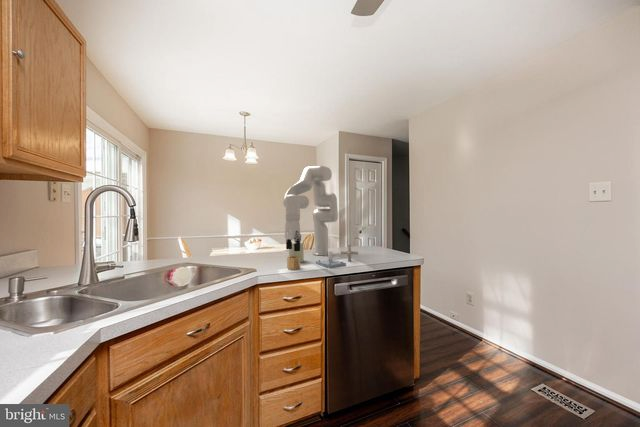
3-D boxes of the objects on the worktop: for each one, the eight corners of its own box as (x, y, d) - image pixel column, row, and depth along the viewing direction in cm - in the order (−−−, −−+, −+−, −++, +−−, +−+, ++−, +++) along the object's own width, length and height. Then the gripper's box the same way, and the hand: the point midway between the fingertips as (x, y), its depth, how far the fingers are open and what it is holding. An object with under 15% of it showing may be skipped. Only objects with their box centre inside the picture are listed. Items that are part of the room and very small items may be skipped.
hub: (285, 267, 147) (285, 256, 147) (296, 266, 150) (296, 255, 150) (290, 270, 142) (290, 258, 142) (301, 268, 145) (301, 257, 145)
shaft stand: (315, 263, 157) (315, 250, 157) (331, 261, 162) (331, 249, 162) (329, 268, 145) (328, 254, 145) (345, 265, 150) (345, 252, 150)
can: (292, 263, 160) (291, 242, 159) (286, 260, 168) (286, 241, 167) (306, 261, 164) (306, 241, 164) (300, 259, 172) (300, 240, 172)
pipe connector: (357, 263, 157) (357, 245, 157) (340, 262, 159) (339, 245, 159) (358, 259, 167) (358, 243, 167) (342, 259, 169) (342, 243, 169)
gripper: (279, 218, 151) (280, 248, 151) (293, 218, 136) (293, 252, 136) (292, 217, 155) (292, 248, 155) (306, 218, 140) (306, 251, 140)
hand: (293, 250), depth 145 cm, fingers open, 9 cm apart
